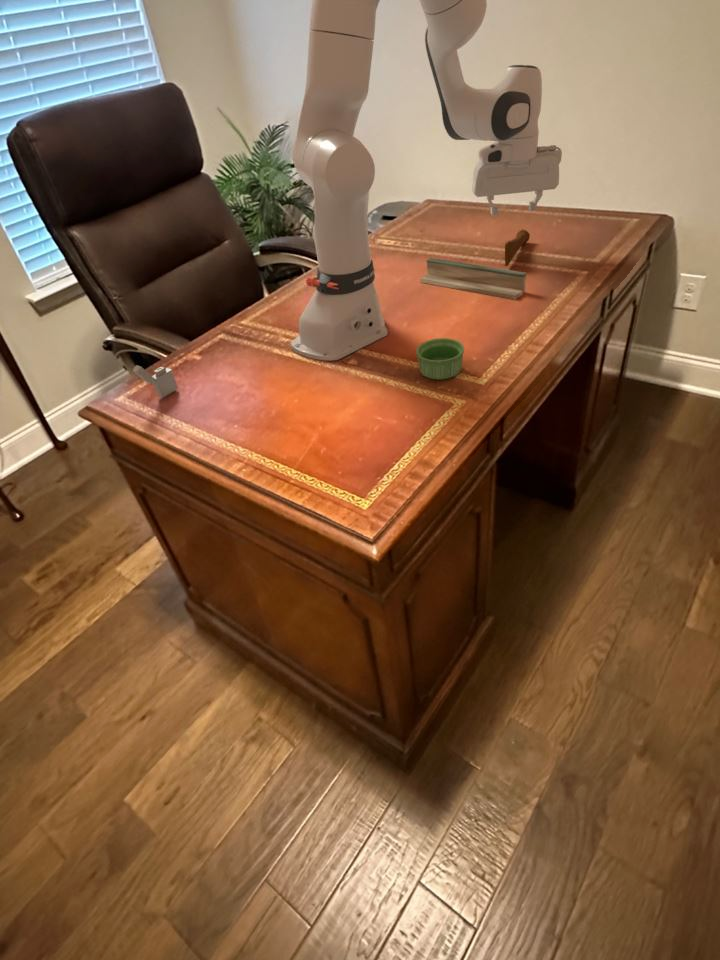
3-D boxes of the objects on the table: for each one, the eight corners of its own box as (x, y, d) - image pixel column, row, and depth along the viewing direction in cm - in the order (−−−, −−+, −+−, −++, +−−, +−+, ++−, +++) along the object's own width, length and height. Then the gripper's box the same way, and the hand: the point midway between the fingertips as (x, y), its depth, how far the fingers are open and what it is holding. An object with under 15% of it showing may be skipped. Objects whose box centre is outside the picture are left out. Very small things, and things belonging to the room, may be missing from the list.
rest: (515, 299, 132) (516, 280, 129) (420, 282, 146) (419, 264, 143) (525, 292, 134) (526, 272, 131) (431, 275, 148) (430, 257, 145)
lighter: (173, 386, 120) (160, 351, 115) (178, 388, 119) (165, 352, 114) (145, 403, 116) (130, 367, 111) (151, 405, 115) (136, 369, 110)
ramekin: (461, 356, 116) (461, 335, 113) (466, 379, 109) (466, 358, 106) (416, 360, 116) (415, 340, 114) (418, 383, 110) (417, 362, 107)
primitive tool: (504, 267, 145) (518, 266, 143) (504, 244, 141) (519, 243, 140) (516, 243, 158) (529, 242, 157) (516, 222, 155) (530, 221, 154)
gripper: (559, 141, 138) (552, 204, 146) (471, 151, 139) (470, 212, 147) (566, 146, 133) (559, 211, 142) (476, 156, 134) (474, 219, 143)
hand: (513, 212), depth 145 cm, fingers open, 8 cm apart
